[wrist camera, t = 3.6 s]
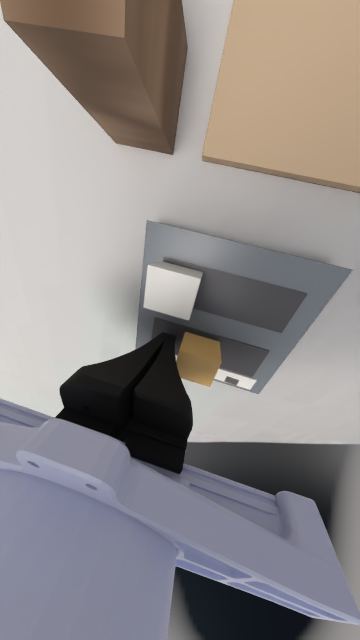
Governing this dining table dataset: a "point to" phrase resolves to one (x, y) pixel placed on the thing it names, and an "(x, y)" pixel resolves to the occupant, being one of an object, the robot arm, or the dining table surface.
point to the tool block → (112, 60)
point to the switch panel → (239, 300)
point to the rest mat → (290, 92)
